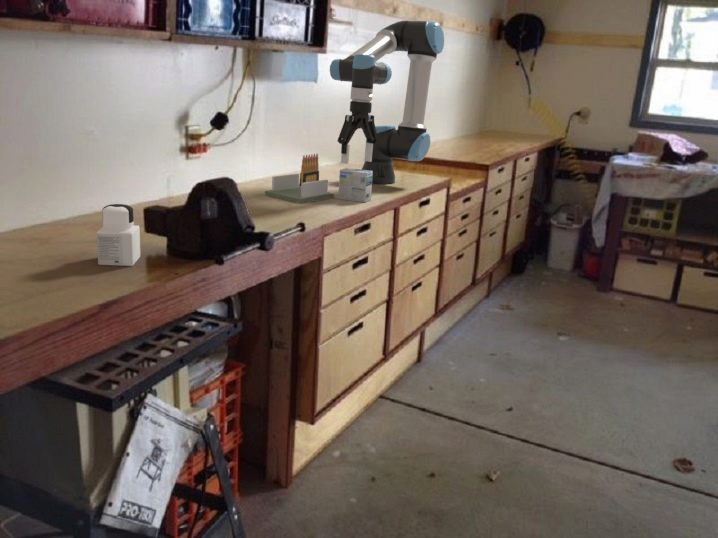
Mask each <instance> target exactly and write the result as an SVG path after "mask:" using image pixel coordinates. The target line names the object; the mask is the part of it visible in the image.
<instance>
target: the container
mask: <svg viewBox="0 0 718 538" xmlns="http://www.w3.org/2000/svg"><path fill="white" fill-rule="evenodd" d="M102 225H103V226H102V227H101V228H100V229H99V230H97V232H96V245H97V264H98V265H99V266H102V265H103V266H122V267H124V266H125V267H133V266H134V265H135V264H136V263H137V261H138V260H139V259H140V258H141V236H140V235H141V231H140V230H141V229H140V225H135V222H134V208H133V207H132V206H131V205H128V204H123V203H113V204H111V203H110V204H107V205H105V206H104V207H103V208H102Z"/></svg>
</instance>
